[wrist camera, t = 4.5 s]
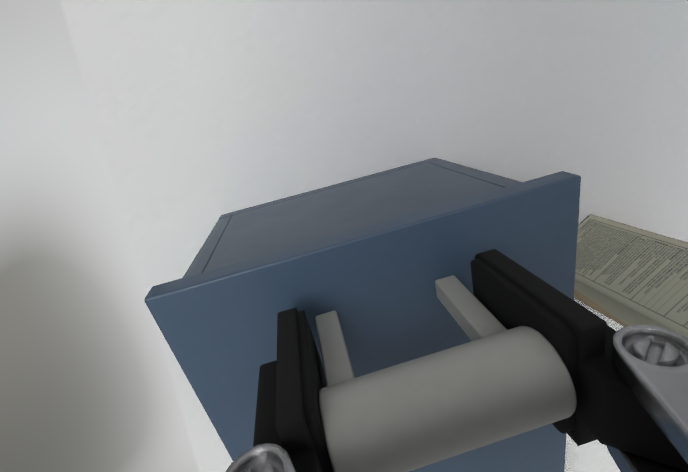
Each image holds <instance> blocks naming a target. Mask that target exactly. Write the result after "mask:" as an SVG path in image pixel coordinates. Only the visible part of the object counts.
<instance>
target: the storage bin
mask: <svg viewBox="0 0 688 472" xmlns="http://www.w3.org/2000/svg"><path fill="white" fill-rule="evenodd" d="M519 183H523V182H519V181H516V180H512V179H509V178H505V177H501V176H498V175H494V174H491V173H487V172H484V171H480V170H477V169H473V168H469V167H466V166H462V165H459V164H455V163H452V162H448V161H445V160H441V159H437V158H432V159H428V160H424V161H420V162H417V163H413V164H409V165H406V166H402V167H398V168H395V169H391V170H387V171H383V172H380V173H376V174H372V175H369V176H365V177H361V178H358V179H354V180H350V181H347V182H343V183H339V184H335V185H332V186H328V187H324V188H321V189H317V190H313V191H310V192H306V193H302V194H298V195H295V196H291V197H287V198H284V199H280V200H276V201H273V202H269V203H265V204H261V205H258V206H254V207H250V208H247V209H243V210H239V211H236V212H232V213H228V214H224V215H221V216H220V218H219V220H218V222H217V223H216V225H215V227H214V228H213V230H212V231H211V233H210V235H209V236H208V238H207V239H206V241H205V243H204V244H203V246H202V248H201V249H200V251H199V252H198V254H197V256H196V257H195V259H194V260H193V262H192V264H191V265H190V267H189V269H188V270H187V272H186V273H185V275H184V277H183V278H185V277H189V276H192V275H196V274H199V273H203V272H206V271H210V270H213V269H217V268H221V267H224V266H228V265H231V264H235V263H238V262H242V261H245V260H249V259H253V258H256V257H260V256H263V255H267V254H270V253H274V252H277V251H281V250H284V249H288V248H292V247H295V246H299V245H302V244H306V243H309V242H313V241H316V240H320V239H324V238H327V237H331V236H334V235H338V234H341V233H345V232H348V231H352V230H356V229H359V228H363V227H366V226H370V225H373V224H377V223H380V222H384V221H388V220H391V219H395V218H398V217H402V216H405V215H409V214H412V213H416V212H419V211H423V210H427V209H430V208H434V207H437V206H441V205H444V204H448V203H451V202H455V201H459V200H462V199H466V198H469V197H473V196H476V195H480V194H483V193H487V192H491V191H494V190H498V189H501V188H505V187H508V186H512V185H515V184H519Z"/></svg>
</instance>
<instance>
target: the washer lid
mask: <svg viewBox="0 0 688 472" xmlns="http://www.w3.org/2000/svg"><path fill="white" fill-rule="evenodd" d="M580 181H581V177H580V176H579V175H575V174H571V173H568V172H564V171H562V172H558V173H554V174H551V175H547V176H544V177H540V178H537V179H533V180H530V181H526V182H523V183H519V184H515V185H512V186H508V187H505V188H501V189H498V190H494V191H491V192H487V193H483V194H480V195H476V196H473V197H469V198H466V199H462V200H459V201H455V202H451V203H448V204H444V205H441V206H437V207H434V208H430V209H427V210H423V211H419V212H416V213H412V214H409V215H405V216H402V217H398V218H395V219H391V220H388V221H384V222H380V223H377V224H373V225H370V226H366V227H363V228H359V229H356V230H352V231H348V232H345V233H341V234H338V235H334V236H331V237H327V238H324V239H320V240H316V241H313V242H309V243H306V244H302V245H299V246H295V247H292V248H288V249H284V250H281V251H277V252H274V253H270V254H267V255H263V256H260V257H256V258H253V259H249V260H245V261H242V262H238V263H235V264H231V265H228V266H224V267H221V268H217V269H213V270H210V271H206V272H203V273H199V274H196V275H192V276H189V277H185V278H181V279H178V280H174V281H171V282H167V283H164V284H160V285H157V286H153V287H152V288H151V290H150V291H149V293H148V295H147V296H146V298H145V303H146V305H147V306H148V308H149V310H150V312H151V314H152V315H153V317H154V319H155V321H156V323H157V324H158V326H159V328H160V330H161V332H162V333H163V335H164V337H165V339H166V341H167V342H168V344H169V346H170V348H171V350H172V351H173V353H174V355H175V357H176V359H177V361H178V362H179V364H180V366H181V368H182V370H183V371H184V373H185V375H186V377H187V379H188V380H189V382H190V384H191V386H192V388H193V389H194V391H195V393H196V395H197V397H198V398H199V400H200V402H201V404H202V406H203V407H204V409H205V411H206V413H207V415H208V416H209V418H210V420H211V422H212V424H213V425H214V427H215V429H216V431H217V433H218V434H219V436H220V438H221V440H222V442H223V443H224V445H225V447H226V449H227V451H228V452H229V454H230V456H231V458H232V460H233V461H234V460H235V459H236V458H237V457H238V456H240V455H241V454H242V453H244V452H245V451H246V450H248V449H250V448H252V447H253V441H254V429H255V417H256V405H257V393H258V381H259V370H260V366H261V365H262V364H266V363H269V362H272V361H275V360H277V314H278V312H282V311H285V310H288V309H292V308H295V307H296V308H297V310H298V312H299V311H302V310H304V311H305V313H306V316H307V319H308V322H309V325H310V328H311V331H312V334H313V338H314V341H315V344H316V347H317V350H318V353H319V356H320V359H321V362H322V365H323V368H324V373H325V379H326V385H327V387H324V388H322V389H321V390H320V391H319V408H320V415H321V421H322V426H323V431H324V436H325V441H326V445H327V450H328V454H329V458H330V462H331V465H332V469H333V472H564V465H565V447H566V433H565V434H563V433H561V432H559V431H558V430H557V429H556V428H555V427H554V425H553V424H552V423H554V422H557V421H560V420H563V419H566V418H569V417H570V416H571V415H572V414H573V413H574V412H575V409H576V405H577V398H576V392H575V388H574V384H573V381H572V379H571V376H570V374H569V372H568V369H567V367H566V365H565V364H564V362H563V360H562V358H561V357H560V355H559V354H558V352H557V351H556V349H555V348H554V347H553V346H552V344H551V343H550V342H549V341H548V340H547V339H546V338H545V337H544V336H543V335H542V334H541V333H540V332H538V331H537V330H535V329H533V328H531V327H528V326H519V327H515V328H512V329H509V330H507V329H506V328H505V327H504V326H503V325H502V324H501V323H500V322H499V321H498V320H497V319H496V318H495V317H494V316H493V315H492V314H491V312H490V311H489V310H488V309H487V308H486V307H485V306H484V305H483V304H482V303H481V302H480V301H479V300H478V299H477V298H476V297H475V296H474V294H473V284H472V275H471V261H472V260H475V255H476V254H478V253H482V252H485V251H489V250H492V249H496V250H498V251H499V252H501V253H502V254H504V255H505V256H507V257H508V258H510V259H511V260H513V261H515V262H516V263H518V264H519V265H521V266H522V267H524V268H525V269H527V270H528V271H530V272H531V273H533V274H534V275H536V276H537V277H539V278H540V279H542V280H543V281H545V282H546V283H548V284H549V285H551V286H552V287H554V288H555V289H557V290H558V291H560V292H561V293H563V294H565V295H566V296H568V297H569V298H571V299H572V300H574V287H575V270H576V252H577V234H578V217H579V199H580Z"/></svg>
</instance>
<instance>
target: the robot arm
mask: <svg viewBox="0 0 688 472" xmlns="http://www.w3.org/2000/svg"><path fill="white" fill-rule="evenodd" d="M471 275H472V284H473V294H474V296H475V297H476V298H477V299H478V300H479V301H480V302H481V303H482V304H483V305H484V306H485V307H486V308H487V309H488V310H489V311H490V312H491V314H492V315H493V316H494V317H495V318H496V319H497V320H498V321H499V322H500V323H501V324H502V325H503V326H504V327H505V328H506V329H507V330H509V329H512V328H515V327H519V326H528V327H531V328H533V329H535V330H537V331H538V332H540V333H541V334H542V335H543V336H544V337H545V338H546V339H547V340H548V341H549V342H550V343H551V344H552V346H553V347H554V348H555V349H556V351H557V352H558V354H559V355H560V357H561V358H562V360H563V362H564V364H565V365H566V367H567V369H568V372H569V374H570V376H571V379H572V381H573V384H574V388H575V392H576V398H577V405H576V409H575V412H574V413H573V414H572V415H571V416H570V417H569V418H566V419H563V420H560V421H557V422H554V423H552V424H553V425H554V427H555V428H556V429H557V430H558V431H559V432H561V433H563V434H565V433H567V434H568V435H569V436H570V437H571V438H572V439H573V440H574V441H575V443H576V444H577V445H578V446H579V445H582V444H585V443H588V442H591V441H594V440H598V441H599V442H600V443H602V444H605V445H607V448H608V450H609V452H610V454H611V456H612V457H613V459H614V461H615V462H616V464H617V466H618V468H619V469H620V471H621V472H688V338H687V337H686V336H683V335H681V334H679V333H677V332H674V331H672V330H668V329H665V328H661V327H657V326H650V325H632V326H627V327H623V328H621V329H620V330H618V331H615V330H614V329H612V328H611V327H609V326H608V325H606V324H607V322H605V321H604V320H602V319H601V318H599V317H598V316H596V315H595V314H593V313H592V312H590V311H589V310H587V309H586V308H584V307H583V306H581V305H580V304H578V303H577V302H575V301H574V300H572V299H571V298H569V297H568V296H566V295H565V294H563V293H561V292H560V291H558V290H557V289H555V288H554V287H552V286H551V285H549V284H548V283H546V282H545V281H543V280H542V279H540V278H539V277H537V276H536V275H534V274H533V273H531V272H530V271H528V270H527V269H525V268H524V267H522V266H521V265H519V264H518V263H516V262H515V261H513V260H511V259H510V258H508V257H507V256H505V255H504V254H502V253H501V252H499V251H498V250H496V249H492V250H489V251H485V252H482V253H478V254H476V255H475V260H472V261H471ZM324 387H327V385H326V379H325V373H324V368H323V365H322V362H321V359H320V356H319V353H318V350H317V347H316V344H315V341H314V338H313V334H312V331H311V328H310V325H309V322H308V319H307V316H306V313H305V311H304V310H302V311H299V312H298V310H297V308H296V307H295V308H292V309H288V310H285V311H282V312H278V314H277V360H275V361H272V362H269V363H266V364H262V365H261V366H260V370H259V381H258V393H257V405H256V417H255V429H254V441H253V447H252V448H250V449H248V450H246V451H245V452H244V453H242V454H241V455H240V456H238V457H237V458H236V459H235V460H234V462H233V463H232V464H231V465H230V466H229V467H228V469H227V471H226V472H333V469H332V465H331V462H330V458H329V454H328V450H327V445H326V441H325V436H324V431H323V426H322V421H321V415H320V408H319V391H320V390H321V389H322V388H324Z"/></svg>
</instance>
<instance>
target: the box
mask: <svg viewBox="0 0 688 472" xmlns="http://www.w3.org/2000/svg"><path fill="white" fill-rule="evenodd" d="M574 298H576V299H578V300H579V301H581V302H583V303H585V304H586V305H588V306H590V307H591V308H593V309H595V310H596V311H598V312H600V313H602V314H603V315H605V316H607V317H609V318H610V319H612V320H614V321H615V322H617V323H619V324H621V325H622V326H624V327H627V326H632V325H650V326H657V327H661V328H665V329H668V330H672V331H674V332H677V333H679V334H681V335H683V336H686V337H687V338H688V242H684V241H680V240H677V239H674V238H670V237H666V236H663V235H660V234H656V233H653V232H649V231H646V230H642V229H639V228H636V227H632V226H629V225H626V224H622V223H619V222H616V221H612V220H609V219H605V218H602V217H599V216H595V215H590V216H589V217H588V218H587V219H585V220H584V221H583V222H582V223H581V224H580V225H578V234H577V252H576V270H575V287H574Z"/></svg>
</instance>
